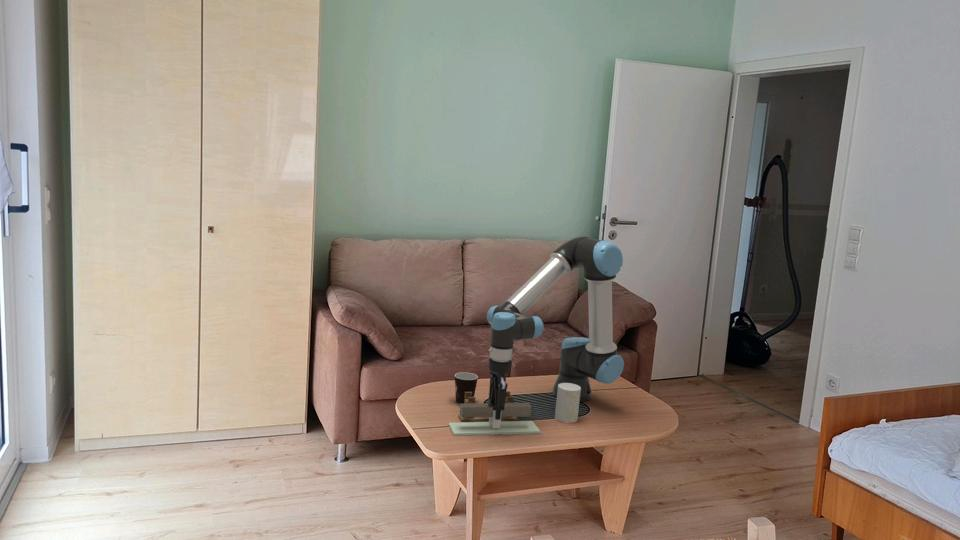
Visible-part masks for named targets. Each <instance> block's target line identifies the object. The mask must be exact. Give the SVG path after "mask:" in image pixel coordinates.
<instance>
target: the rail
mask: <svg viewBox="0 0 960 540" xmlns="http://www.w3.org/2000/svg"><path fill="white" fill-rule="evenodd" d="M493 408H495V403H490V402H488V403H487V402H486V403H479V402H478V403H477V402H475V403H468V404H459V414H460V415H461V417H493ZM531 413H532V406H531V404H530V403H529V402H514V403H505V407H504V410H502V414H501V417H516V418H517V417H521V418H522V417H531V416H532V415H531Z"/></svg>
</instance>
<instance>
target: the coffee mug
mask: <svg viewBox="0 0 960 540" xmlns="http://www.w3.org/2000/svg"><path fill="white" fill-rule="evenodd" d="M478 379H479V376H478V375H477V374H475V373H472V372H466V371H460V372H457V373H455V374H454V387H455V388H454V392H455V402H456V404H458V405H460V404H464V401H465V399H468V398H465V392H472V397H475V394H476V389H477V383H478Z"/></svg>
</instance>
